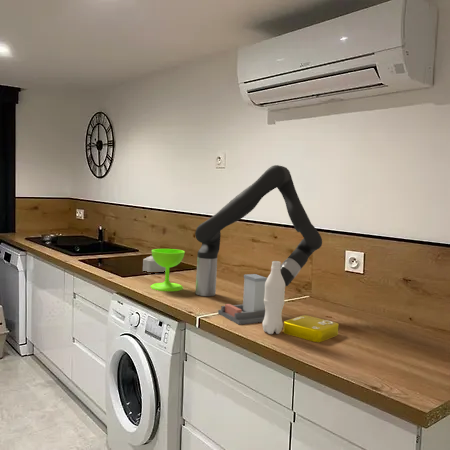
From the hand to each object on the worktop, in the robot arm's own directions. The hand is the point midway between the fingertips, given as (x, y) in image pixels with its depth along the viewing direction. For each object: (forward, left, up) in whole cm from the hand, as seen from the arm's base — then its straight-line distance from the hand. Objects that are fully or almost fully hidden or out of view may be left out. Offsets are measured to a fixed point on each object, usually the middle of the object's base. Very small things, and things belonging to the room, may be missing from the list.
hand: (260, 303), depth 188 cm
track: (0, -5, -5) cm, 7 cm away
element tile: (+26, +5, -5) cm, 27 cm away
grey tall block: (0, -3, -3) cm, 4 cm away
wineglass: (-58, -16, -5) cm, 60 cm away
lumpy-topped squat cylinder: (-100, -6, -5) cm, 101 cm away
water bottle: (+20, -8, -5) cm, 22 cm away
